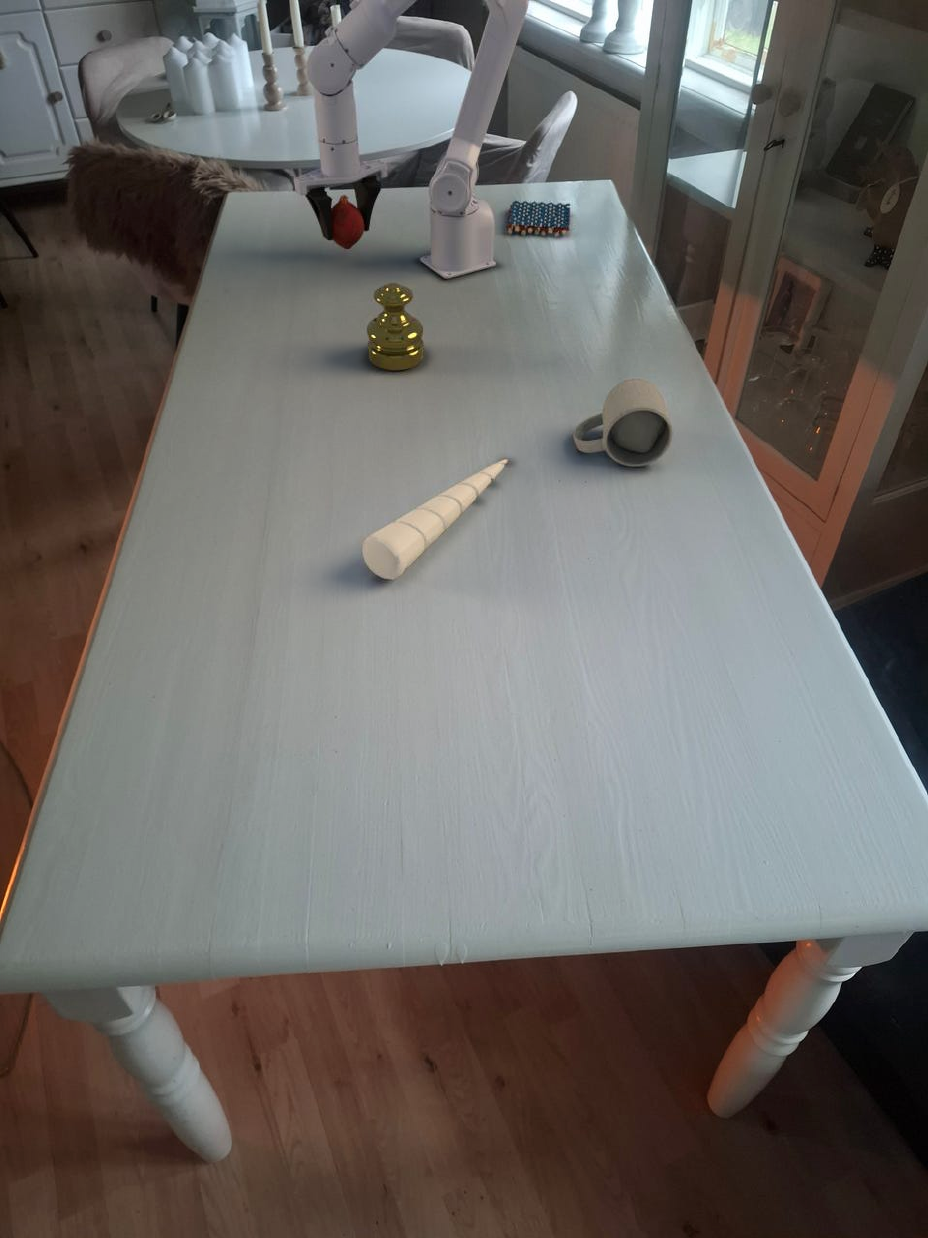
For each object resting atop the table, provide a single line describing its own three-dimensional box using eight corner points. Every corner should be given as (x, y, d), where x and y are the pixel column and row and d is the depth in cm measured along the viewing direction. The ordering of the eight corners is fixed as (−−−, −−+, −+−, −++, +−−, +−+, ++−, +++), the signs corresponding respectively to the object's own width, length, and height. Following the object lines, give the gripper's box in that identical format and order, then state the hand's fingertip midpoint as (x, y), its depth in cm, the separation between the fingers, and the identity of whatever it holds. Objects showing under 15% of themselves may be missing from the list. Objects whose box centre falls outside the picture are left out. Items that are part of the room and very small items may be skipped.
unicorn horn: (533, 475, 98) (537, 440, 95) (396, 590, 85) (394, 553, 82) (500, 460, 100) (502, 424, 97) (361, 569, 87) (357, 533, 84)
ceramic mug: (657, 428, 105) (668, 371, 100) (666, 468, 99) (678, 410, 94) (570, 426, 105) (576, 370, 100) (574, 467, 100) (581, 409, 94)
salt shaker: (410, 339, 119) (408, 268, 112) (432, 365, 115) (431, 292, 107) (360, 350, 117) (355, 278, 110) (380, 376, 112) (376, 303, 105)
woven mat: (509, 210, 151) (509, 198, 150) (569, 213, 151) (571, 201, 149) (505, 234, 144) (505, 222, 143) (568, 238, 143) (570, 225, 142)
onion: (359, 258, 134) (355, 204, 128) (324, 254, 134) (318, 201, 129) (370, 243, 138) (366, 190, 132) (335, 239, 138) (330, 187, 133)
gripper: (368, 121, 130) (374, 214, 139) (280, 138, 124) (292, 234, 134) (392, 134, 125) (396, 229, 135) (301, 152, 120) (313, 250, 130)
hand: (346, 233), depth 134 cm, fingers closed on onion, 6 cm apart
